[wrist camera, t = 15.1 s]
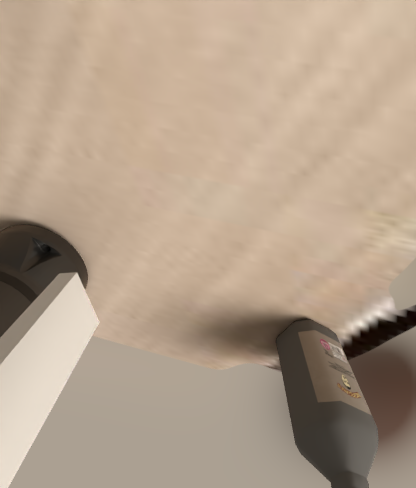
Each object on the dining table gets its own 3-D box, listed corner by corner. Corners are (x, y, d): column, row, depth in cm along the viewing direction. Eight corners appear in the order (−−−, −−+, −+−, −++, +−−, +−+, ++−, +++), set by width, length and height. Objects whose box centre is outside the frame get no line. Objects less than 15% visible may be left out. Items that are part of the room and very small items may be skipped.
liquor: (301, 312, 46) (397, 603, 20) (342, 334, 48) (478, 626, 22) (268, 342, 50) (312, 616, 24) (307, 361, 52) (386, 634, 26)
